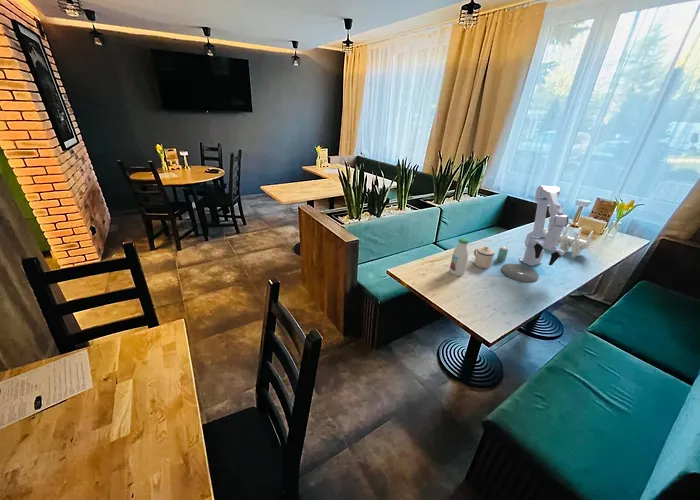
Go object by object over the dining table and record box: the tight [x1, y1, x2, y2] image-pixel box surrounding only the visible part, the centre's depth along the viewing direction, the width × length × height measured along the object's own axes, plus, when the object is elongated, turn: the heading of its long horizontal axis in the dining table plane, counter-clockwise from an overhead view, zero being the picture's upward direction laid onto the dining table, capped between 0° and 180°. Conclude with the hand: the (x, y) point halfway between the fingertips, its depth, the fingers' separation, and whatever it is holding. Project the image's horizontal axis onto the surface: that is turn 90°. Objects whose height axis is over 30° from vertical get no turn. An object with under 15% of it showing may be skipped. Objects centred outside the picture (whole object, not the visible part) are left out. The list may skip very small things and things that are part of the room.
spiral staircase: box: [538, 223, 594, 258], centre depth 181 cm, size 18×18×25 cm
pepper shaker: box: [496, 245, 509, 263], centre depth 171 cm, size 4×4×8 cm
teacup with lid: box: [473, 245, 495, 269], centre depth 165 cm, size 12×9×12 cm
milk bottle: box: [448, 237, 469, 277], centre depth 154 cm, size 8×8×20 cm
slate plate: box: [500, 263, 539, 283], centre depth 159 cm, size 18×18×1 cm
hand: (543, 261), depth 152 cm, fingers open, 7 cm apart
